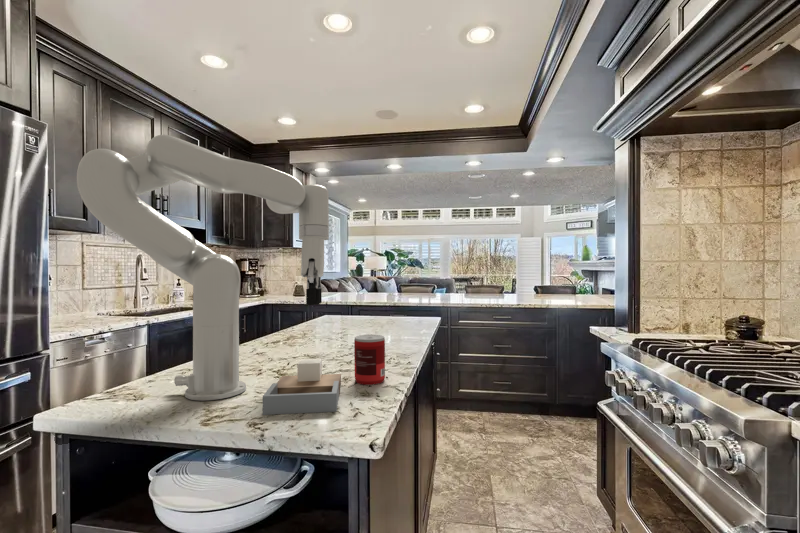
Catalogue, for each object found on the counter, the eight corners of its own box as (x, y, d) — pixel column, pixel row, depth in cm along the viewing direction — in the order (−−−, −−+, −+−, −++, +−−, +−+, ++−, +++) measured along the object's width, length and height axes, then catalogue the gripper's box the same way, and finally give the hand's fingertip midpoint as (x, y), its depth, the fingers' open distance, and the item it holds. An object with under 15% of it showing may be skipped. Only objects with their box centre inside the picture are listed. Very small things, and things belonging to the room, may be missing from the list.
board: (272, 399, 83) (272, 388, 83) (281, 386, 93) (281, 376, 93) (338, 397, 84) (338, 385, 85) (340, 384, 94) (340, 373, 94)
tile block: (297, 381, 88) (297, 363, 88) (300, 375, 93) (300, 359, 93) (319, 380, 89) (319, 363, 89) (321, 375, 93) (321, 358, 94)
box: (262, 414, 74) (262, 396, 74) (272, 399, 83) (272, 383, 83) (336, 411, 76) (336, 393, 76) (338, 397, 84) (338, 380, 85)
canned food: (379, 375, 103) (378, 333, 103) (389, 383, 95) (389, 338, 95) (351, 378, 100) (350, 335, 100) (359, 386, 92) (359, 340, 92)
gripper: (303, 236, 108) (303, 302, 108) (293, 229, 92) (293, 307, 91) (330, 237, 109) (331, 301, 109) (325, 230, 92) (326, 306, 92)
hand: (314, 303), depth 100 cm, fingers open, 4 cm apart
